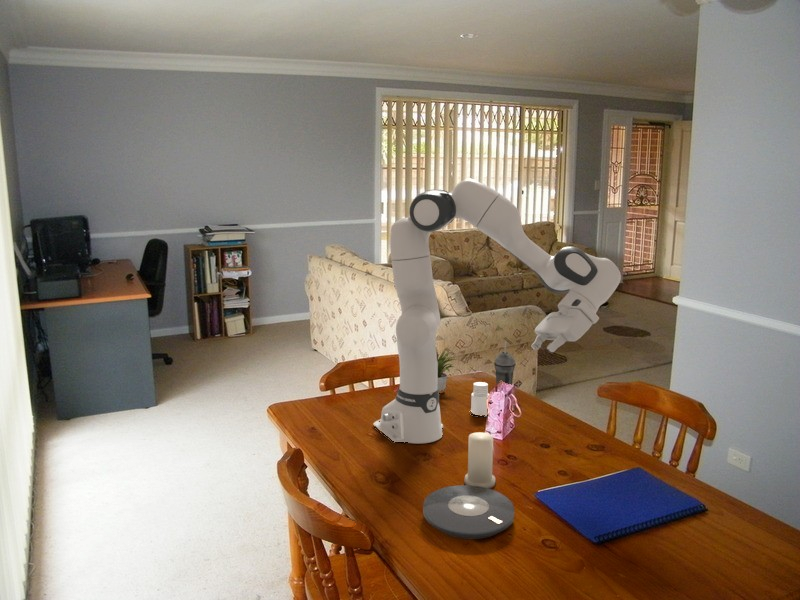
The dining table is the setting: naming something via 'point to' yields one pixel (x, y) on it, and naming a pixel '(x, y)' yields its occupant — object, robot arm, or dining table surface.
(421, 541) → the dining table surface
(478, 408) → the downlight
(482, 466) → the white flanged cylinder
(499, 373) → the beverage cup
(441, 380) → the house plant
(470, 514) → the turntable
